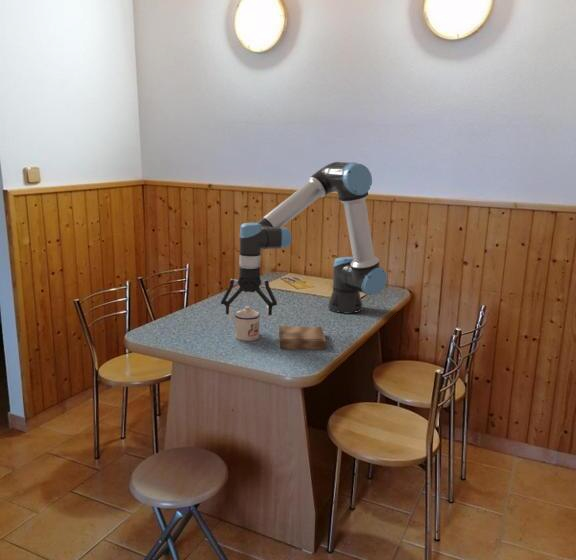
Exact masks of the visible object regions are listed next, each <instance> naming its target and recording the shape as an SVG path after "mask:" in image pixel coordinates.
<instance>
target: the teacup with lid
mask: <svg viewBox="0 0 576 560" xmlns="http://www.w3.org/2000/svg"><path fill="white" fill-rule="evenodd" d="M260 317H261V314H260V312H258V311H257V310H254V309H253V308H251V306H249V305H246V306H244V308H243V309H241V310H238V311H236V312H235V313H234V319H235V320H234V322H235V324H234V325H235V332H234V334H235V335H234V336H235V338H236V339H237V340H238V341H242V342H250V341H255V340H258V339H259V337H260Z"/></svg>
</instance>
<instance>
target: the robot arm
mask: <svg viewBox="0 0 576 560" xmlns="http://www.w3.org/2000/svg"><path fill="white" fill-rule="evenodd" d="M372 184H373V177H372V173H371V171H370V170H369V168H368V167H367V166H365V165H364V164H362V163H358V162H355V161H354V162H352V161H351V162H341V161H340V162H339V161H334V162H331V163H329V164H327V165H325V166H323V167H322V168H320V169H319V170H317V171H316V172H315V173H313V174H312V175H311V176H309V178H308V180H307V182H306V183H305V184H304V185H302V187H300V188H298V190H296V191H295V192H294V193H292V194H291V195H290V196H288V197H287V198H286V199H284V200H283V201H282V202H280V204H278V205H277V206H276V207H275V208H273V209H272V210H271V211H270V212H268V213H267V214H266V215H264V216H263V217H262V218H261V219H259V220H258V221H256V222H254V221H253V222H244V223H242V224H241V225H240V229H239V255H238V256H239V259H238V260H239V262H238V263H239V264H238V266H239V268H238V269H239V270H238V272H239V273H238V274H239V275H238V279H235V278H230V280H229V281H230V282H229V285H228V288H227V290H226V291H225V294H224V295H223V297H222V299H221V301H220V304H221V305H223V306H225V314H226V315H228V325H231V324H232V311H233V309H232V307H233V306H232V303H233V302H234V301H235V300H236V298H238V296H239V295H240V294H241V293H242V292H244V293H248V292H249V293H255V292H256V293H257V294H258V296H259V297H261V299H262V300H263V301H264V302H265V303H266V312H265V313H266V317H265V318H266V319H265V322H266V323H265V324H266V325H267V326H268V325H269V316H272V313H273V307H275V306H277V305H278V302H277V299H276V297H275V295H274V293H273V291H272V288H271V286H270V282H269V279H268V278H266V279H265V280H263V279H262V280H261V267H260V266H261V257H262V256H261V252H262V250H272V249H273V250H274V249H280V250H281V249H284V248H285V249H287V248H288V247H290V246H291V244H292V237H293V236H292V232H291V231H290V229H289V228H288V227H285V226H286V225H287V224H288V223H289V222H290V221H291V220H292V219H294V218H295V217H297V216H298V215H299V214H301V212H302V211H304V210H305V209H307V208H308V207H309V206H310V205H312V204H313V203H314V202H315V201H316V200H318V199H320V198H324V197H326V196H327V195H328V194H330V193H335V192H336V193H337V197H338V201H339V202H340V203H342V204H343V208H344V213H345V219H346V225H347V230H348V231H347V232H348V236H349V237H348V238H349V243H350V249H351V254H352V256H344V257H343V256H340V257H336V258H335V259H334V261H333V276H332V277H333V278H332V292H331V295H330V298H329V299H328V303H327V308H329V309H331V310H334V311H339V312H355V311H359V310H361V309H362V308H363V307H364V305H363V301H362V297H361V294H360V293H363V294H365V295H371V296H374V295H377V294H380V292H382V291H383V290H384V288H385V286H386V284H387V282H388V274H387V271H386V270H385V269H384V268H382V267H381V264H380V260H379V258H378V257H377V256H375V253H374V252H375V251H374V246H373V239H372V233H371V227H370V220H369V214H368V208H367V203H366V199H367V198H368V197H369V191H370V189H371V186H372ZM236 284H238V286H239V287H238V289H237V290H236V291H235V292H234V293H233V294H232V296H231V297H230V298H229V295H230V294H231V291H232V289H233V287H234V286H236ZM261 285H263V286H264V287H265V289H266V291H267V294H268V295H269V297H270V298H268V296H266V294H265V293H264V292H263V291H262V290H261V288H260V286H261ZM228 298H229V299H228ZM329 309H328V310H329ZM331 310H330V311H331ZM334 311H333V312H334Z"/></svg>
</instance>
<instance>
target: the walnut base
mask: <svg viewBox="0 0 576 560" xmlns="http://www.w3.org/2000/svg"><path fill="white" fill-rule="evenodd" d="M278 339H279V340H278V341H279V342H278V343H279V349H280V350H281V349H282V350H283V349H284V350H326V349H327V340H326V336H325V333H324V331H323V327H322V326H299V325H298V326H296V325H295V326H291V325H290V326H288V325H287V326H285V325H284V326H283V325H282V326H281V325H280V326H278Z"/></svg>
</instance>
